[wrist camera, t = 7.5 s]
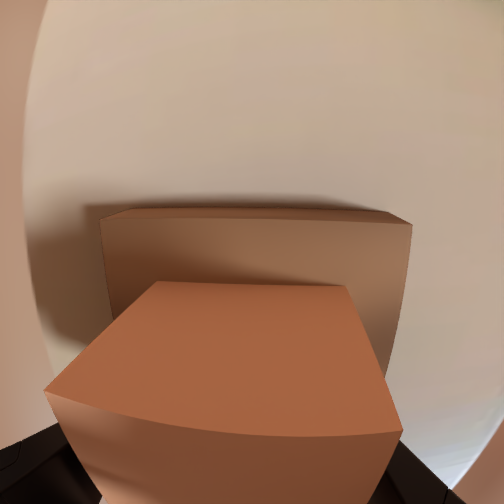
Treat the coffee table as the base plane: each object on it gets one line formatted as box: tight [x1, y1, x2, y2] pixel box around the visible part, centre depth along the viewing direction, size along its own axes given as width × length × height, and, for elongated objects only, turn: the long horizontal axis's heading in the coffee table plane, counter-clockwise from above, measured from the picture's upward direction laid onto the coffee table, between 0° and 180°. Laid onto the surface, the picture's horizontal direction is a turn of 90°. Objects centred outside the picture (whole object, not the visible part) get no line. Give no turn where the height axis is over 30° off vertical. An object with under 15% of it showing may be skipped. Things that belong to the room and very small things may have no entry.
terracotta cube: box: [44, 281, 403, 504], centre depth 8 cm, size 6×6×6 cm
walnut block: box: [99, 207, 413, 379], centre depth 12 cm, size 10×10×3 cm
